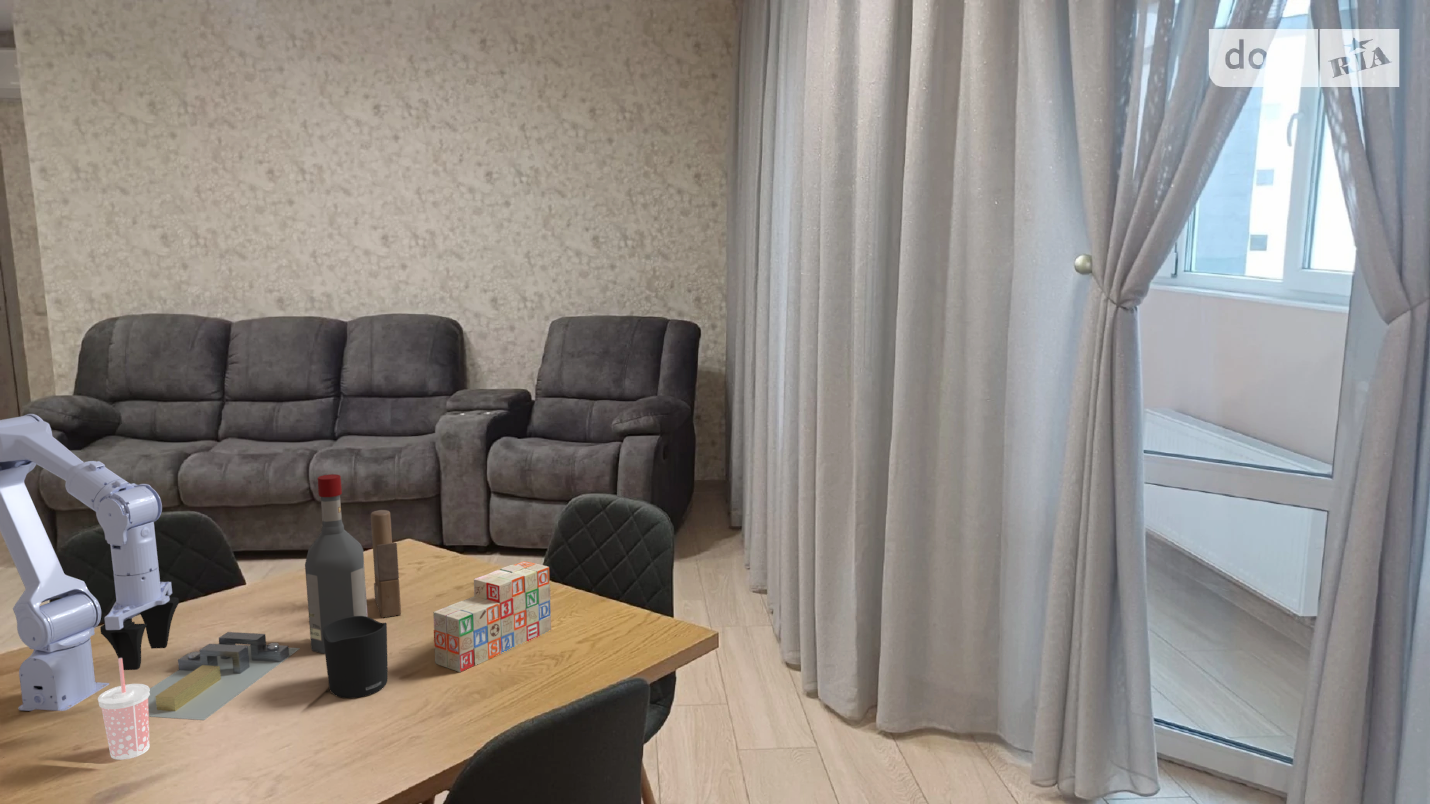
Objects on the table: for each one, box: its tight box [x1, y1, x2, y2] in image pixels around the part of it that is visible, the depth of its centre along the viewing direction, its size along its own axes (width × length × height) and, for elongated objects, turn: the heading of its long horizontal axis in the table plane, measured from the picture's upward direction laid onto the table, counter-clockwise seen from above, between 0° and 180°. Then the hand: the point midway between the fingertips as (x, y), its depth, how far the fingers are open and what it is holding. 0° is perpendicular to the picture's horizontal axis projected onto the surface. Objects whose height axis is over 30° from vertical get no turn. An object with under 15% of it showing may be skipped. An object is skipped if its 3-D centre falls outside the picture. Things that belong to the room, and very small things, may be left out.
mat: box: [148, 644, 301, 721], centre depth 161 cm, size 26×15×1 cm, turn 172°
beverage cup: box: [97, 658, 151, 761], centre depth 138 cm, size 6×6×14 cm
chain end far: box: [218, 631, 290, 663], centre depth 169 cm, size 2×11×4 cm, turn 82°
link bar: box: [156, 665, 221, 711], centre depth 156 cm, size 11×3×2 cm, turn 172°
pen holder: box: [323, 616, 389, 699], centre depth 159 cm, size 9×9×10 cm
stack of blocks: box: [433, 560, 552, 673], centre depth 174 cm, size 21×6×12 cm, turn 146°
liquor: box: [304, 473, 369, 655], centre depth 173 cm, size 9×9×30 cm
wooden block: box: [370, 509, 402, 618], centre depth 192 cm, size 4×11×18 cm, turn 25°
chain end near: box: [177, 643, 250, 674], centre depth 164 cm, size 2×11×4 cm, turn 82°
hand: (145, 658), depth 149 cm, fingers open, 7 cm apart
